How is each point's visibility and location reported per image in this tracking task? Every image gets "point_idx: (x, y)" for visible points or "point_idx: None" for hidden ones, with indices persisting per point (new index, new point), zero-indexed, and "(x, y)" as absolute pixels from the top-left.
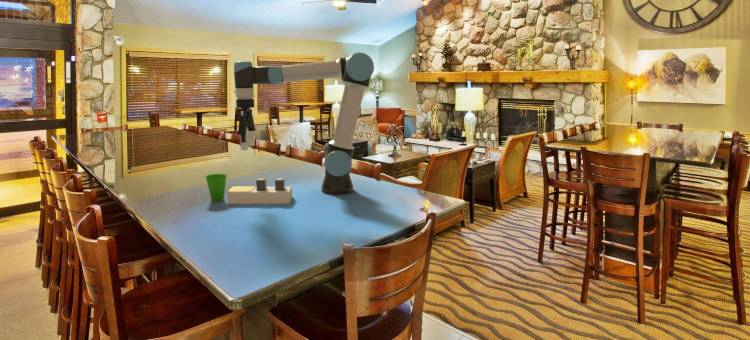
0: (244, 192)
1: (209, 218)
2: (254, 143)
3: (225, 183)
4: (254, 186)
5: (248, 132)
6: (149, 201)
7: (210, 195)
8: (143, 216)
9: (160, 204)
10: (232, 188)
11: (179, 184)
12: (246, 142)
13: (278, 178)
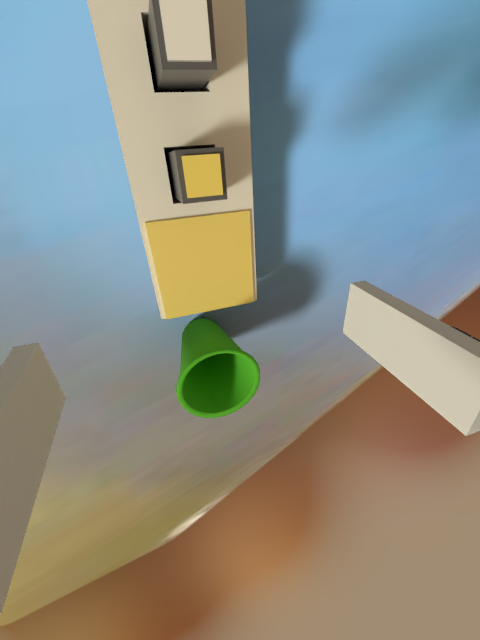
0: (254, 237)
1: (376, 270)
2: (13, 360)
3: (202, 341)
4: (151, 227)
5: (1, 573)
6: (228, 460)
7: (218, 356)
8: (338, 400)
9: (252, 428)
10: (203, 305)
11: None
12: (422, 317)
13: (168, 45)
